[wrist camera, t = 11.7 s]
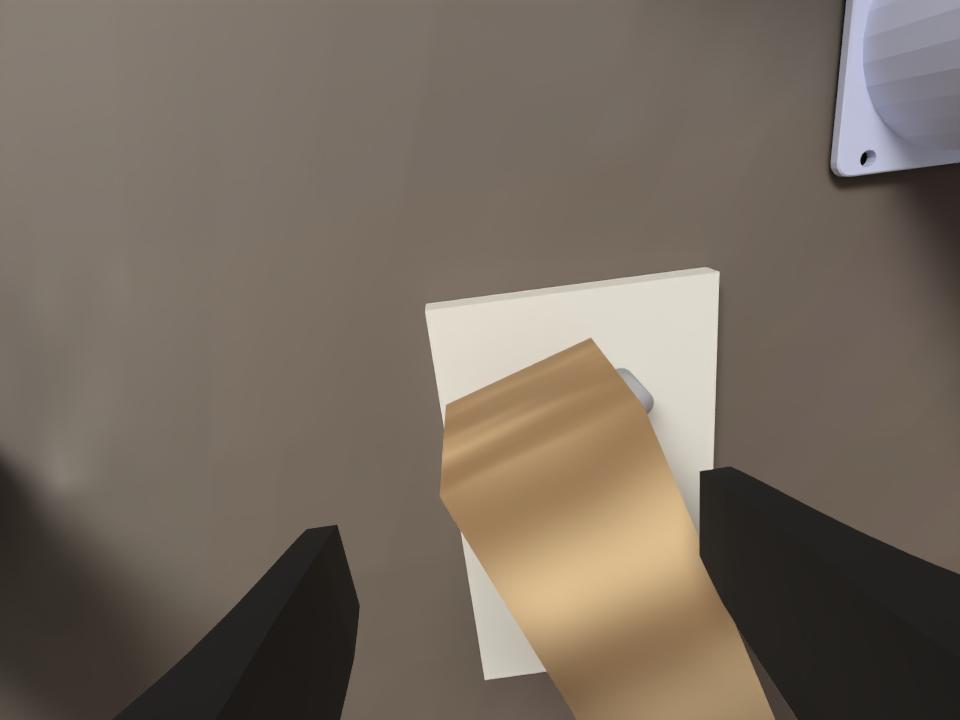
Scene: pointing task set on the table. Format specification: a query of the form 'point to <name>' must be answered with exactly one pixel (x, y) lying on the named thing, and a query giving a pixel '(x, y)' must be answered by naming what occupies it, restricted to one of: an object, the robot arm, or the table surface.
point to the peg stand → (632, 352)
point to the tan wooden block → (594, 544)
